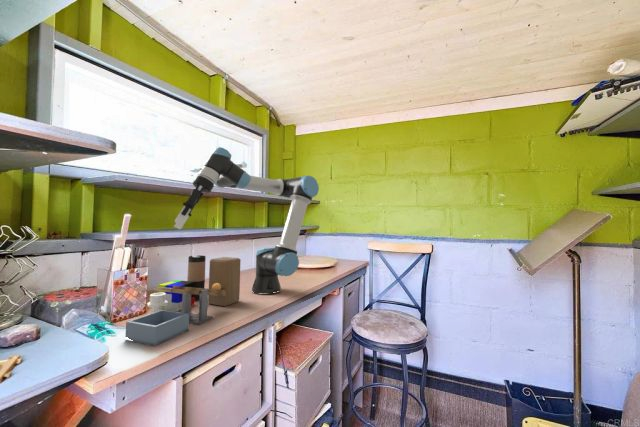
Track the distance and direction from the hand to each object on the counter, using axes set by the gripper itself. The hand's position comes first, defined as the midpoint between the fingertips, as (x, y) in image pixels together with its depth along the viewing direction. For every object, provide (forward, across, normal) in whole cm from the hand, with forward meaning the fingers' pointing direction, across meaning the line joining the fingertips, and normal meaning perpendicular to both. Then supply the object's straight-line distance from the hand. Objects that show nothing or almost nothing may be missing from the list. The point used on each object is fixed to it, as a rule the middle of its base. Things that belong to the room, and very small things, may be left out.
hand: (177, 225), depth 101 cm
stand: (+28, 0, +22) cm, 36 cm away
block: (+20, -18, +33) cm, 42 cm away
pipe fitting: (+32, -12, +10) cm, 36 cm away
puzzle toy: (+28, -20, +16) cm, 38 cm away
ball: (+15, -6, +25) cm, 30 cm away
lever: (+20, -3, +17) cm, 27 cm away
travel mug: (+23, -31, +22) cm, 44 cm away
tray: (+34, +10, +13) cm, 38 cm away
